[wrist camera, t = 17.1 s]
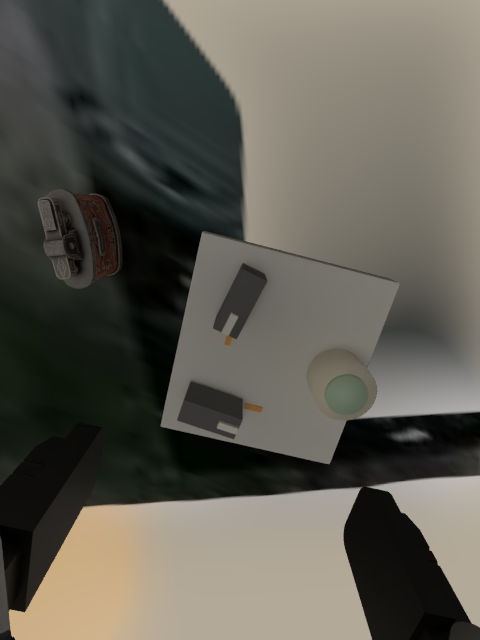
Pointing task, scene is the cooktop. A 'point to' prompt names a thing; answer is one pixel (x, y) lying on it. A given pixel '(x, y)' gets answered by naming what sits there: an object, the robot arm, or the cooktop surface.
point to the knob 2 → (240, 301)
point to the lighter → (80, 236)
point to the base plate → (282, 347)
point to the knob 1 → (211, 410)
